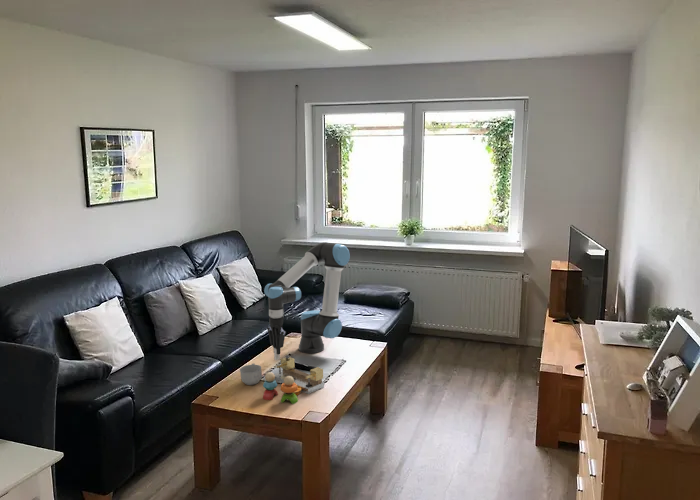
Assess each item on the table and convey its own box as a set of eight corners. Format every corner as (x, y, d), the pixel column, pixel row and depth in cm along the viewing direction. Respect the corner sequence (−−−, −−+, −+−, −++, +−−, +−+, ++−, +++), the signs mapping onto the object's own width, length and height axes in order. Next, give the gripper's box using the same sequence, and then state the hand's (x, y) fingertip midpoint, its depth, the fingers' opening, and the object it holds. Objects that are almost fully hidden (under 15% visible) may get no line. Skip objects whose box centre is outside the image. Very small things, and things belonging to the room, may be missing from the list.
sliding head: (288, 368, 301) (287, 353, 299) (294, 370, 297) (294, 355, 296) (274, 373, 293) (273, 358, 292) (280, 376, 290) (280, 360, 289)
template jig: (287, 373, 301) (287, 356, 300) (324, 386, 284) (323, 369, 282) (271, 379, 293) (271, 362, 292) (308, 393, 276) (307, 375, 274)
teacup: (257, 387, 284) (256, 372, 282) (237, 386, 286) (236, 371, 284) (267, 377, 297) (266, 362, 296) (247, 375, 299) (246, 361, 298)
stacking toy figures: (306, 390, 280) (305, 366, 278) (294, 405, 263) (294, 380, 261) (271, 387, 284) (270, 363, 282) (258, 402, 267) (257, 377, 265)
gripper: (262, 315, 299) (263, 358, 303) (279, 320, 291) (280, 364, 294) (273, 312, 305) (274, 354, 308) (289, 317, 296) (290, 360, 300)
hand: (277, 359), depth 301 cm, fingers closed
